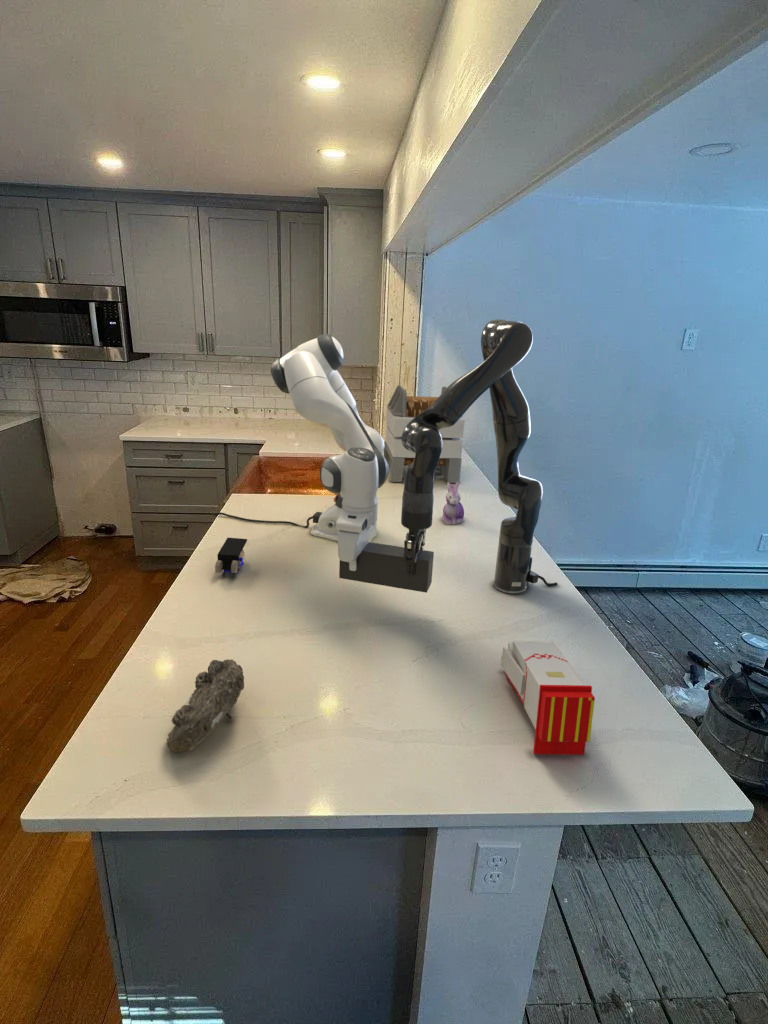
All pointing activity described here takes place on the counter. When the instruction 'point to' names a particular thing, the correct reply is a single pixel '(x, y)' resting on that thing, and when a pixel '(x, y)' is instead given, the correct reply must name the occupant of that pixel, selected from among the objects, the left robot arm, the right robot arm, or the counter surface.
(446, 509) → the figurine
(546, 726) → the toy
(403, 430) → the right robot arm
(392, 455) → the transformer
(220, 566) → the black wheeled block
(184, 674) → the counter surface
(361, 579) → the box
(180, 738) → the fossil
